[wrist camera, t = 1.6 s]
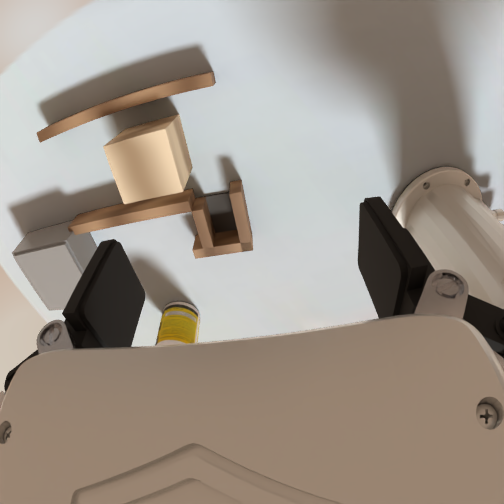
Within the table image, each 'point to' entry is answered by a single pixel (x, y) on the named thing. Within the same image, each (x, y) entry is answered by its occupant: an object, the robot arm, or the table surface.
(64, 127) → the channel
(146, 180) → the block
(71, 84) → the table surface
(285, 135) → the table surface
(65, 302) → the stand
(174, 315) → the supplement bottle
